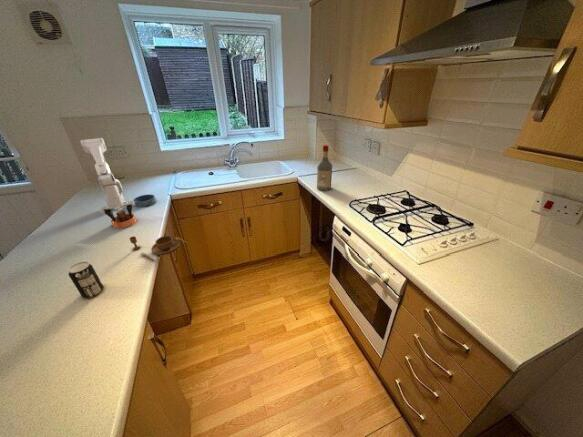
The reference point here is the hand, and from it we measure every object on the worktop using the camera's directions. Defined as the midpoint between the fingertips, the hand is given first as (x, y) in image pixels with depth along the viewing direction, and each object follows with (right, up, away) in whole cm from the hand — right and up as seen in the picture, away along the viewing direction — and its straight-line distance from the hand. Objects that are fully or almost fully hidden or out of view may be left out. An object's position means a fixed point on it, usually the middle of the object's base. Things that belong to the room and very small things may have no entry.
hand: (123, 219), depth 131 cm
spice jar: (0, -2, +1) cm, 2 cm away
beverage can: (+19, -27, -43) cm, 54 cm away
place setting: (+31, -13, -18) cm, 38 cm away
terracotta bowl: (0, -3, +1) cm, 3 cm away
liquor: (+115, +22, +40) cm, 124 cm away
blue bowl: (-3, +10, +25) cm, 27 cm away
